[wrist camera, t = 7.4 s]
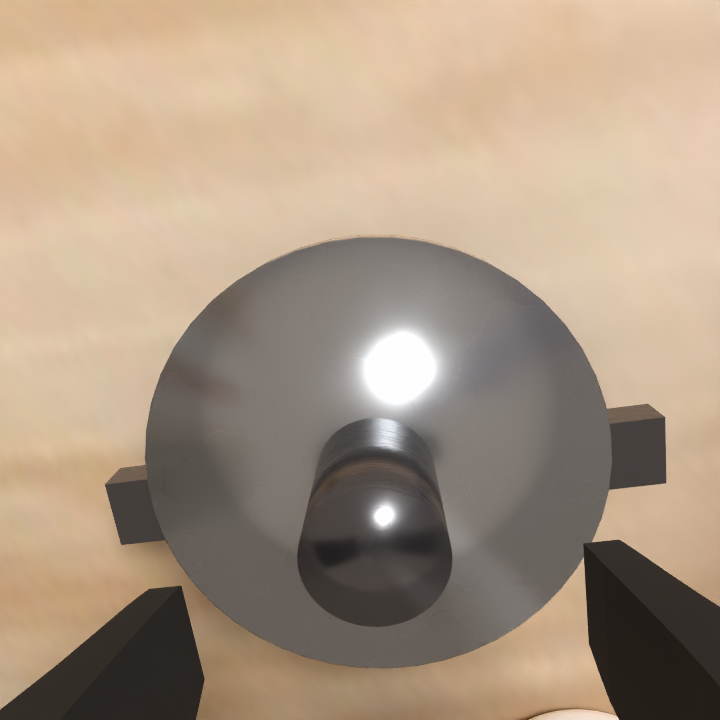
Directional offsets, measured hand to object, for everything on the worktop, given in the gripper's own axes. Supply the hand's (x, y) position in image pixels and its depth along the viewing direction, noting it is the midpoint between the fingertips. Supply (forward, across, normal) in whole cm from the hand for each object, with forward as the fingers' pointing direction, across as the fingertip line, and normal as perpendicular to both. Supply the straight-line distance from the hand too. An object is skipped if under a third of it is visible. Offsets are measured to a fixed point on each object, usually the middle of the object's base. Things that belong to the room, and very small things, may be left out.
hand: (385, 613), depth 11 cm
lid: (+5, 0, -1) cm, 5 cm away
